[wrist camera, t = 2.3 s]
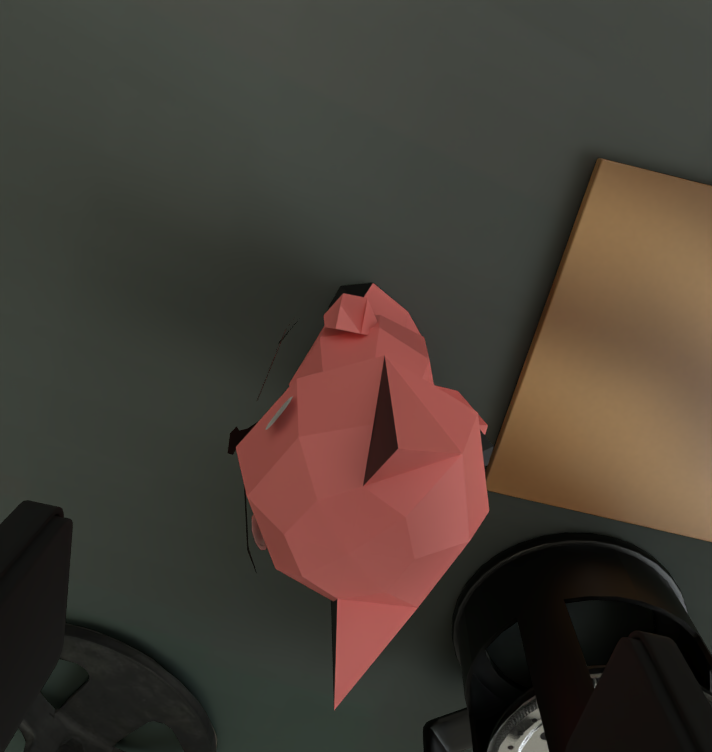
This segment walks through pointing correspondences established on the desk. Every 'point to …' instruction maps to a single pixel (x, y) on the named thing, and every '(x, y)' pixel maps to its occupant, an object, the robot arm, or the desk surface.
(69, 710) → the holder
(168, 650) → the desk surface
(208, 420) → the desk surface
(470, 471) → the cat figurine
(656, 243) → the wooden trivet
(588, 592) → the french press
